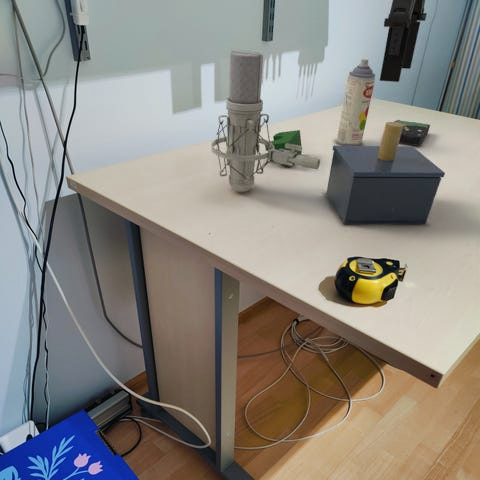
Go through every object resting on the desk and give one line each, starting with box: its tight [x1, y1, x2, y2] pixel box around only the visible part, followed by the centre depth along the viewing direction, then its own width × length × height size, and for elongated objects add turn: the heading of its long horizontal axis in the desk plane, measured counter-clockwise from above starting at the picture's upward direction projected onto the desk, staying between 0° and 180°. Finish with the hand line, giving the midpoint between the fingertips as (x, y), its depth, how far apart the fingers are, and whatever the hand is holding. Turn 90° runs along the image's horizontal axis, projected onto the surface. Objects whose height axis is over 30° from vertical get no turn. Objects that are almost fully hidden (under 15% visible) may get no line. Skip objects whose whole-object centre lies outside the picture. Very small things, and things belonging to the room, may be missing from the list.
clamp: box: [264, 129, 303, 167], centre depth 103 cm, size 12×6×9 cm, turn 153°
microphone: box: [210, 49, 321, 193], centre depth 80 cm, size 12×22×25 cm, turn 61°
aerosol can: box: [336, 58, 376, 146], centre depth 111 cm, size 7×7×20 cm
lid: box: [332, 121, 446, 178], centre depth 77 cm, size 16×14×7 cm
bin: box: [325, 151, 442, 226], centre depth 82 cm, size 16×14×9 cm
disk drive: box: [393, 119, 431, 147], centre depth 123 cm, size 10×3×15 cm
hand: (396, 74), depth 67 cm, fingers open, 13 cm apart
